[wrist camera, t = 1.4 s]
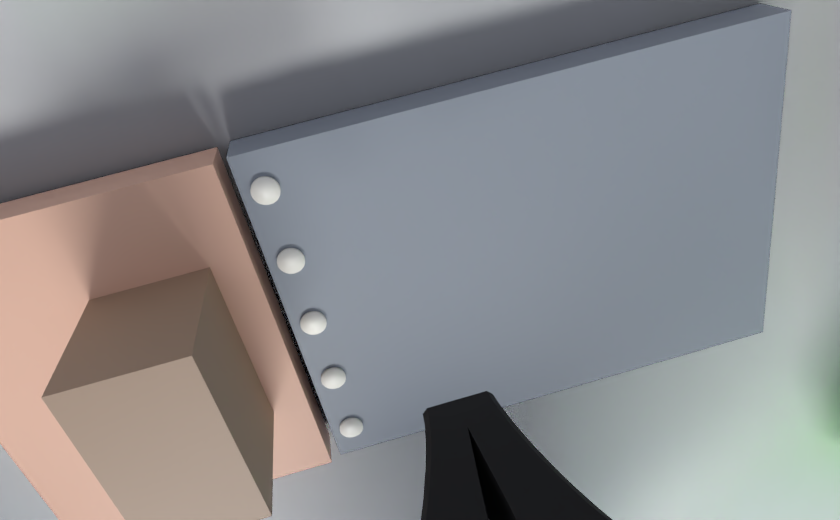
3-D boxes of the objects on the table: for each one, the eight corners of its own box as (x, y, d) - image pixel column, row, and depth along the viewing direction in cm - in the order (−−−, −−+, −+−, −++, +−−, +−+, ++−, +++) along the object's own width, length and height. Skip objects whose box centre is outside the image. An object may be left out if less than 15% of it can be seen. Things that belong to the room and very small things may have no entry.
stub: (329, 434, 21) (340, 566, 17) (83, 505, 20) (31, 659, 16) (217, 147, 16) (193, 234, 12) (-114, 233, 15) (-262, 356, 11)
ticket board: (739, 311, 22) (764, 333, 21) (337, 427, 21) (340, 457, 20) (760, 3, 17) (794, 10, 16) (229, 141, 16) (226, 159, 15)
